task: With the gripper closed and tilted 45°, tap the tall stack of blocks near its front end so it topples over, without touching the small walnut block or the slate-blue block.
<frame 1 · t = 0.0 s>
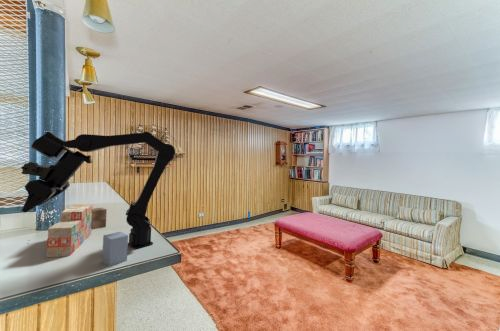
hand: (30, 208, 70), 15 cm above the worktop, tool tilted 35°, fingers open, 9 cm apart
stack of blocks: (71, 245, 81), on the worktop
walnut block: (97, 226, 101), on the worktop
slate-blue block: (114, 260, 70), on the worktop
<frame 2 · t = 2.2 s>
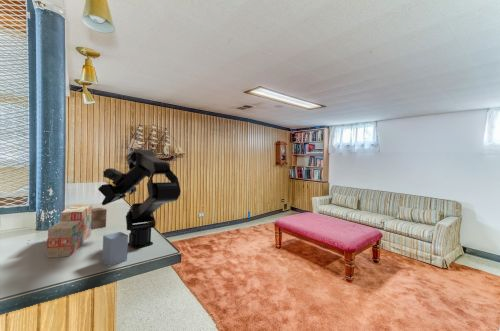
hand: (102, 204, 86), 14 cm above the worktop, tool tilted 45°, fingers closed
nothing on the worktop moved.
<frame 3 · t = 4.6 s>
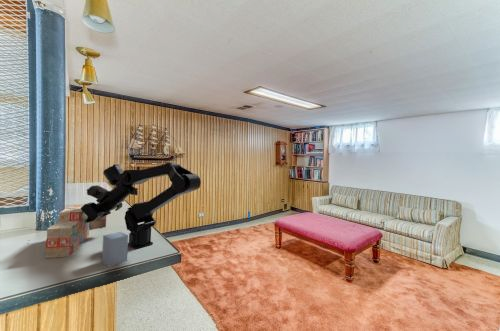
hand: (87, 221, 86), 7 cm above the worktop, tool tilted 45°, fingers closed
nothing on the worktop moved.
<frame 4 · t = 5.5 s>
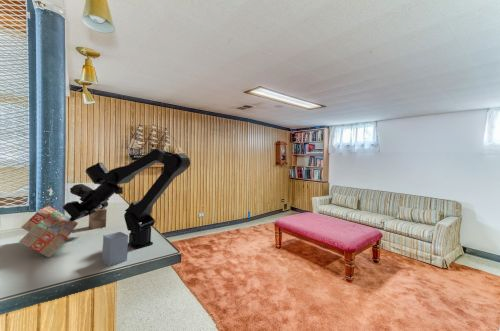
hand: (70, 220, 86), 7 cm above the worktop, tool tilted 45°, fingers closed
stack of blocks: (66, 238, 80), point 2 cm above the worktop
everything else where it was.
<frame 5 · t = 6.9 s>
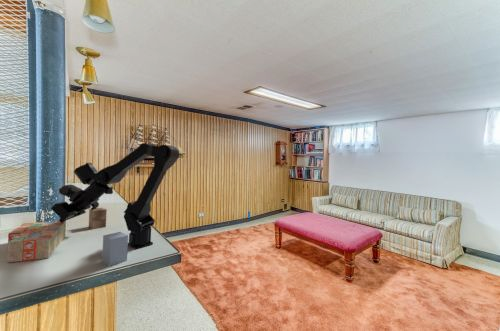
hand: (60, 221, 85), 7 cm above the worktop, tool tilted 45°, fingers closed
stack of blocks: (59, 236, 79), point 3 cm above the worktop
everything else where it was.
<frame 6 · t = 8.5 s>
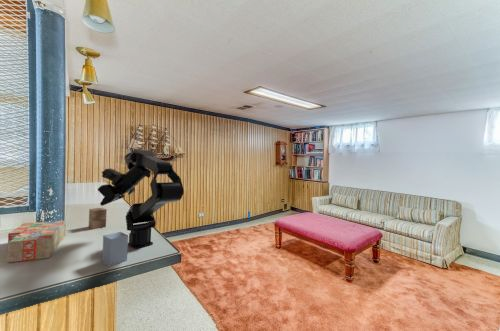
hand: (101, 204, 86), 14 cm above the worktop, tool tilted 45°, fingers closed
nothing on the worktop moved.
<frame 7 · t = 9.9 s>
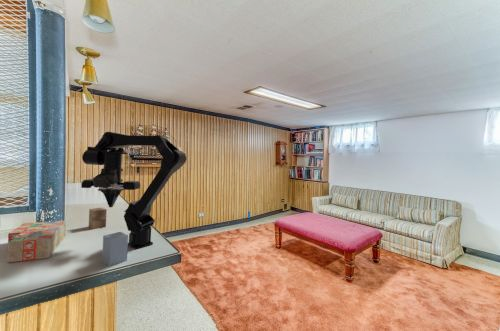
hand: (110, 207, 85), 13 cm above the worktop, tool pointing down, fingers closed
nothing on the worktop moved.
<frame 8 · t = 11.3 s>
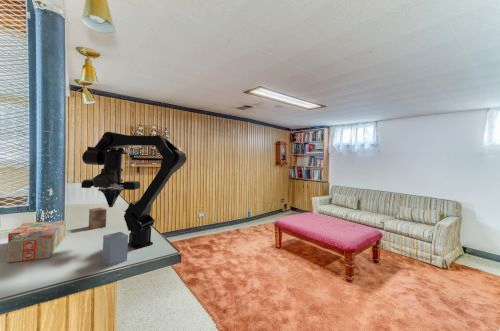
hand: (110, 207, 85), 13 cm above the worktop, tool pointing down, fingers closed
nothing on the worktop moved.
at the end: stack of blocks tilted 90°; walnut block moved 0.1 cm from its start; slate-blue block moved 0.1 cm from its start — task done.
